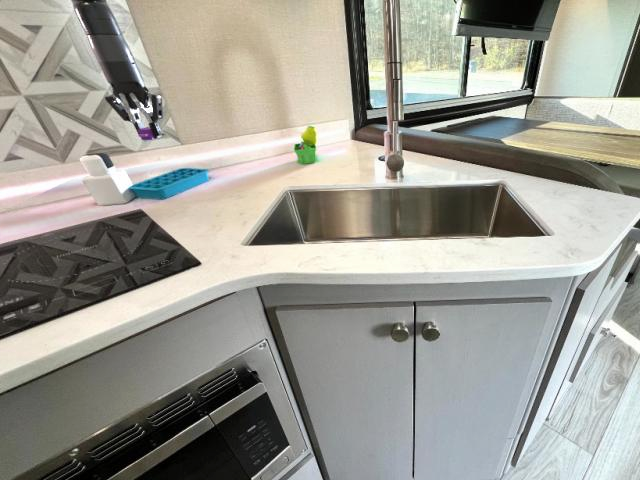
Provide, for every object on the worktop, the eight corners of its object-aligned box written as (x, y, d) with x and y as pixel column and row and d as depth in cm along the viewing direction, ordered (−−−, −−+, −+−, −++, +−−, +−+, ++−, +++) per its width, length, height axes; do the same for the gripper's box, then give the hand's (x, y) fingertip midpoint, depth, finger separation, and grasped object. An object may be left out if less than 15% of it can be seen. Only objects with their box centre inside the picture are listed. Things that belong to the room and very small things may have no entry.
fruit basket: (297, 158, 121) (289, 125, 114) (320, 156, 122) (314, 123, 115) (297, 165, 112) (289, 130, 105) (322, 163, 114) (316, 128, 107)
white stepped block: (112, 197, 90) (85, 152, 83) (139, 195, 91) (115, 150, 84) (97, 206, 85) (67, 158, 77) (126, 203, 86) (99, 156, 78)
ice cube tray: (214, 179, 102) (211, 169, 100) (162, 201, 86) (157, 190, 85) (185, 177, 104) (181, 167, 102) (130, 198, 89) (124, 187, 87)
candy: (139, 141, 84) (134, 130, 83) (154, 136, 90) (149, 126, 88) (150, 140, 84) (145, 130, 83) (164, 135, 90) (160, 125, 88)
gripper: (75, 61, 74) (117, 141, 84) (134, 58, 73) (170, 139, 84) (98, 60, 79) (136, 136, 90) (154, 58, 79) (184, 134, 90)
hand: (152, 137), depth 87 cm, fingers closed on candy, 3 cm apart
